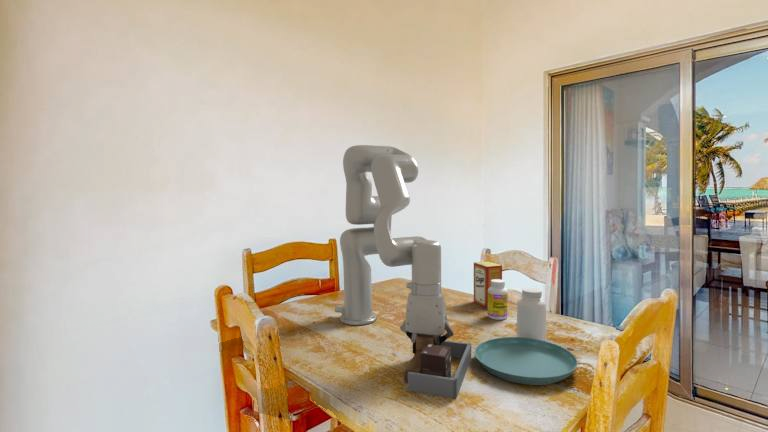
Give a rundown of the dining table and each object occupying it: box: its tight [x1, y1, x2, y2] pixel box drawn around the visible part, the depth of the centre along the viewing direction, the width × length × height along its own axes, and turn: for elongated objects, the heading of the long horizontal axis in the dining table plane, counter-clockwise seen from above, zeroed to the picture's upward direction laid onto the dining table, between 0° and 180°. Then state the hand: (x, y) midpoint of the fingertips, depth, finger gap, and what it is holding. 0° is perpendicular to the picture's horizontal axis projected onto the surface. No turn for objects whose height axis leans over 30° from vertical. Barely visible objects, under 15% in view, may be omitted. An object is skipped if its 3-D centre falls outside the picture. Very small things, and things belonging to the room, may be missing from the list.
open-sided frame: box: [407, 339, 472, 400], centre depth 97 cm, size 11×22×4 cm, turn 159°
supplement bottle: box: [487, 279, 509, 321], centre depth 138 cm, size 7×7×13 cm
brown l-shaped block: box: [403, 334, 435, 384], centre depth 99 cm, size 4×15×7 cm, turn 159°
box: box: [420, 344, 452, 378], centre depth 94 cm, size 6×6×7 cm
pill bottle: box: [516, 287, 547, 342], centre depth 117 cm, size 8×8×15 cm
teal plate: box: [474, 336, 579, 386], centre depth 101 cm, size 24×24×3 cm
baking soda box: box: [473, 261, 503, 309], centre depth 154 cm, size 10×6×16 cm
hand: (426, 356), depth 104 cm, fingers closed on brown l-shaped block, 4 cm apart
